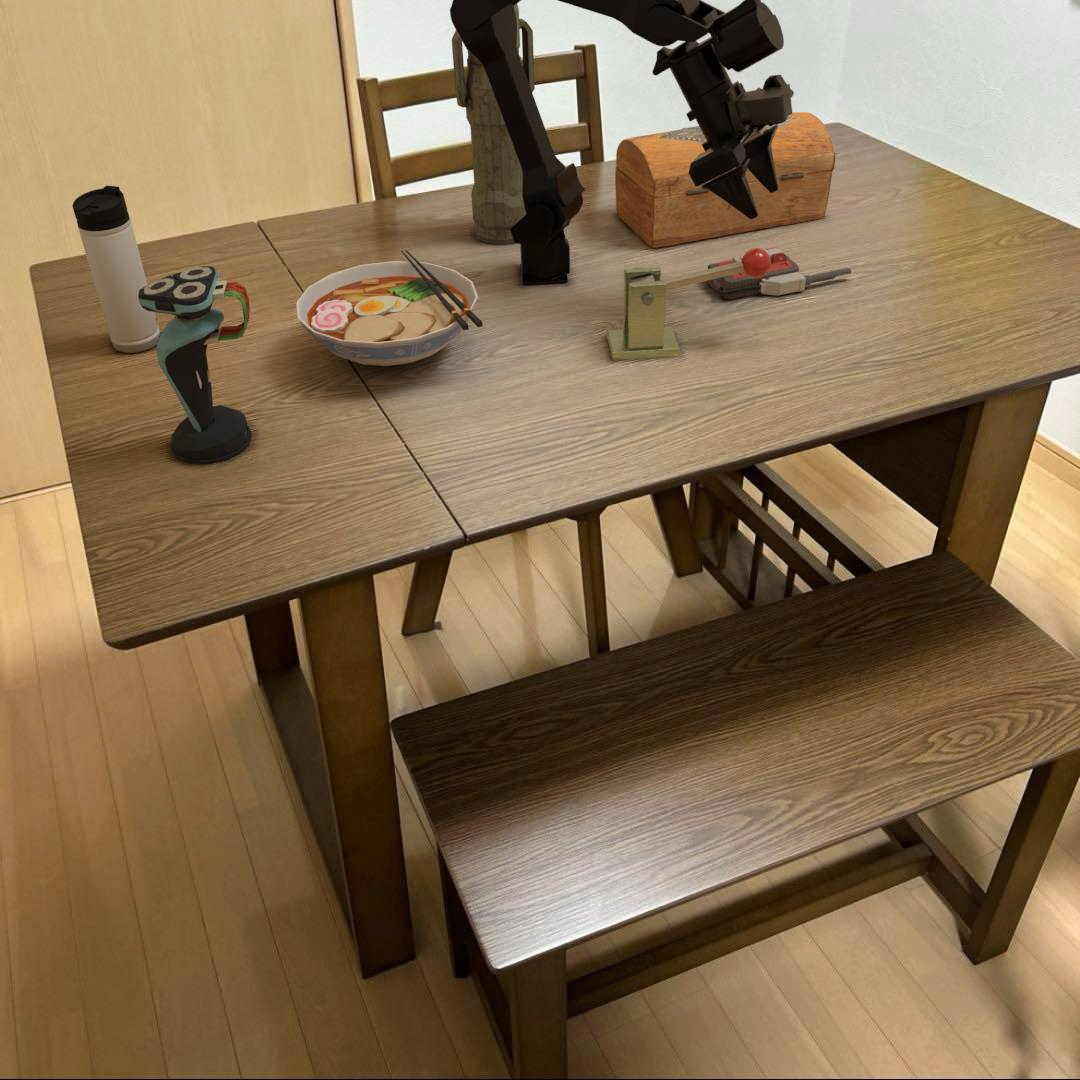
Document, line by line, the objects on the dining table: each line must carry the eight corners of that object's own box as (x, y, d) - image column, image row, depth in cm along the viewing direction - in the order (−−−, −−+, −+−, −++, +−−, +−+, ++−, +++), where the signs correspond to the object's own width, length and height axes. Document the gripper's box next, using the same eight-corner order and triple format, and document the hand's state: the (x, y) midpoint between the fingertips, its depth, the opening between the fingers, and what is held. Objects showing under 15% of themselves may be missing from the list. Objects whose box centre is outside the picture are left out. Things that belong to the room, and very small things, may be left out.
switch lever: (768, 266, 141) (765, 240, 139) (775, 279, 138) (772, 252, 136) (633, 299, 142) (629, 273, 140) (637, 312, 139) (633, 285, 137)
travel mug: (172, 333, 151) (135, 187, 139) (143, 356, 146) (102, 207, 134) (133, 327, 153) (92, 182, 141) (103, 350, 148) (58, 202, 136)
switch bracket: (671, 334, 147) (675, 264, 141) (679, 356, 142) (683, 285, 136) (606, 338, 147) (607, 268, 141) (612, 360, 142) (613, 289, 136)
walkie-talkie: (726, 309, 152) (853, 283, 157) (728, 279, 149) (858, 253, 155) (696, 283, 159) (820, 259, 164) (698, 254, 156) (823, 229, 161)
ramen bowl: (283, 329, 151) (273, 272, 146) (444, 295, 158) (439, 239, 153) (332, 418, 133) (322, 357, 128) (511, 375, 140) (508, 315, 135)
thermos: (551, 232, 174) (544, -15, 152) (486, 252, 169) (470, -1, 147) (519, 214, 180) (509, -26, 158) (455, 233, 175) (436, -13, 153)
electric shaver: (178, 423, 133) (136, 265, 121) (278, 416, 134) (247, 258, 121) (164, 467, 126) (118, 303, 114) (270, 459, 127) (236, 296, 114)
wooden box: (778, 183, 187) (787, 97, 179) (829, 220, 175) (841, 129, 166) (610, 211, 180) (611, 123, 171) (651, 250, 168) (654, 158, 159)
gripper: (743, 80, 125) (803, 205, 131) (787, 37, 139) (840, 152, 144) (661, 125, 132) (721, 242, 138) (710, 80, 146) (764, 188, 151)
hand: (765, 204), depth 142 cm, fingers open, 9 cm apart
